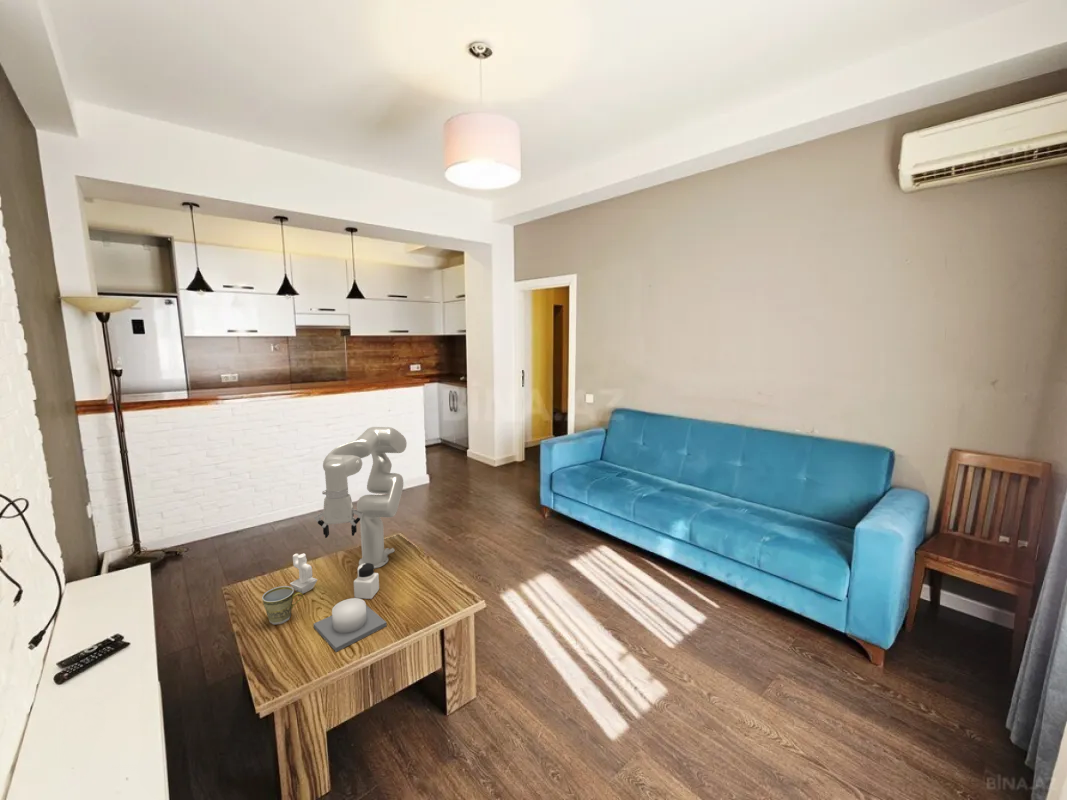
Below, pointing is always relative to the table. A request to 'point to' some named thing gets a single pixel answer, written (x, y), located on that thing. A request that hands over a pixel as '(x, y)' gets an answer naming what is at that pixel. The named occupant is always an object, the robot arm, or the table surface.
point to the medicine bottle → (366, 582)
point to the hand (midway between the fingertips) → (340, 535)
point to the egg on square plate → (349, 623)
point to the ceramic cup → (279, 603)
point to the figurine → (303, 574)
